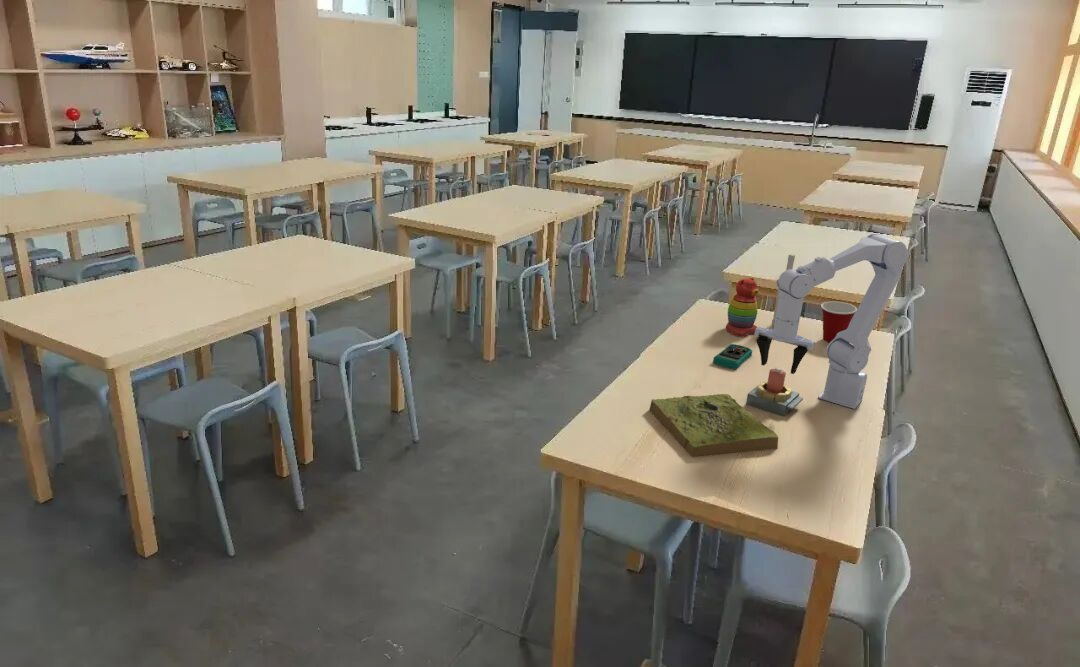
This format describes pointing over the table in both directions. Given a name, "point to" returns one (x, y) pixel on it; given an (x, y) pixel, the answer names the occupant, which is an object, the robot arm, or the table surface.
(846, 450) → the table surface
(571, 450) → the table surface
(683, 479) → the table surface
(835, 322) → the plastic cup
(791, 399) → the stone well model
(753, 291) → the stacking bear
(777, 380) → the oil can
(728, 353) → the digital multimeter
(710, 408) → the miniature landscape model
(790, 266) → the bottle
